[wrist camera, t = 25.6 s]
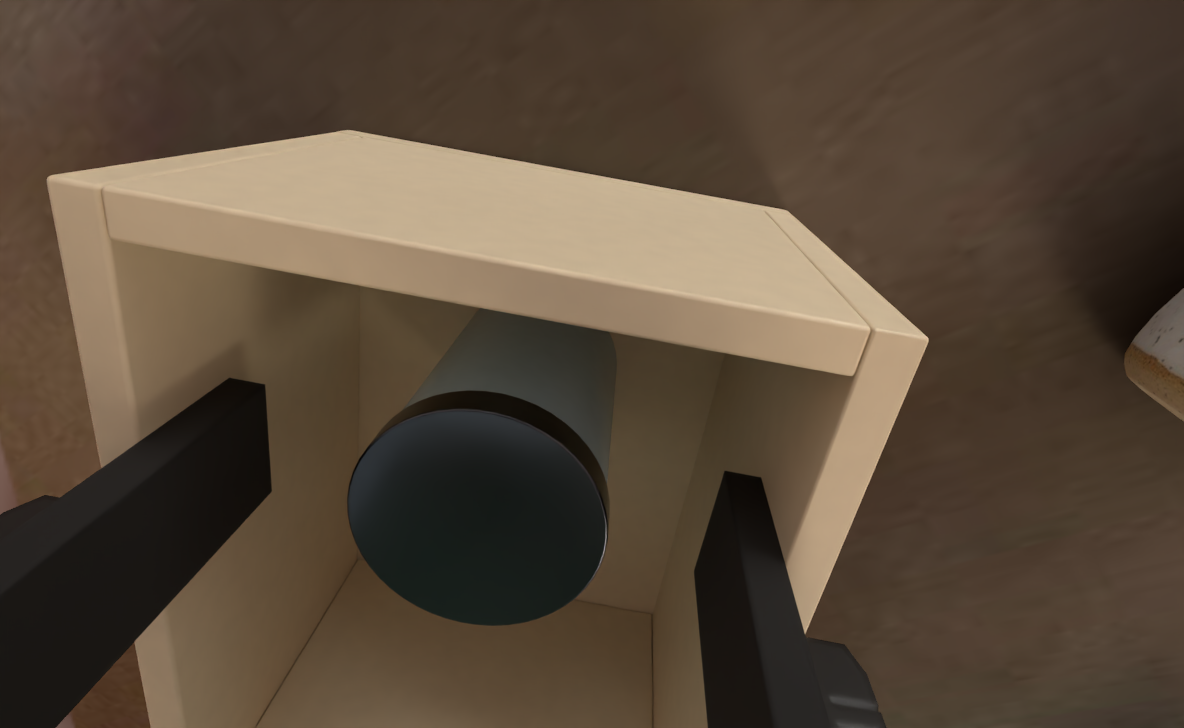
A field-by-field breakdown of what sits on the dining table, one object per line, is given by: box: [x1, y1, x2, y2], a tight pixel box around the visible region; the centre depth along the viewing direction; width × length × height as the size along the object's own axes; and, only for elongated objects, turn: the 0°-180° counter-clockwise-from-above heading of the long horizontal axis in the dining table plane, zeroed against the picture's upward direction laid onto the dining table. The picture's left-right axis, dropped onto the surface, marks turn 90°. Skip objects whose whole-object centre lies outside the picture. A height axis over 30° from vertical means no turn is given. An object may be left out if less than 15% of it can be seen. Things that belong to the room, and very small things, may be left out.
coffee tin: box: [347, 308, 617, 626], centre depth 16 cm, size 5×5×8 cm
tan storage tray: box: [47, 130, 929, 728], centre depth 16 cm, size 16×13×10 cm
